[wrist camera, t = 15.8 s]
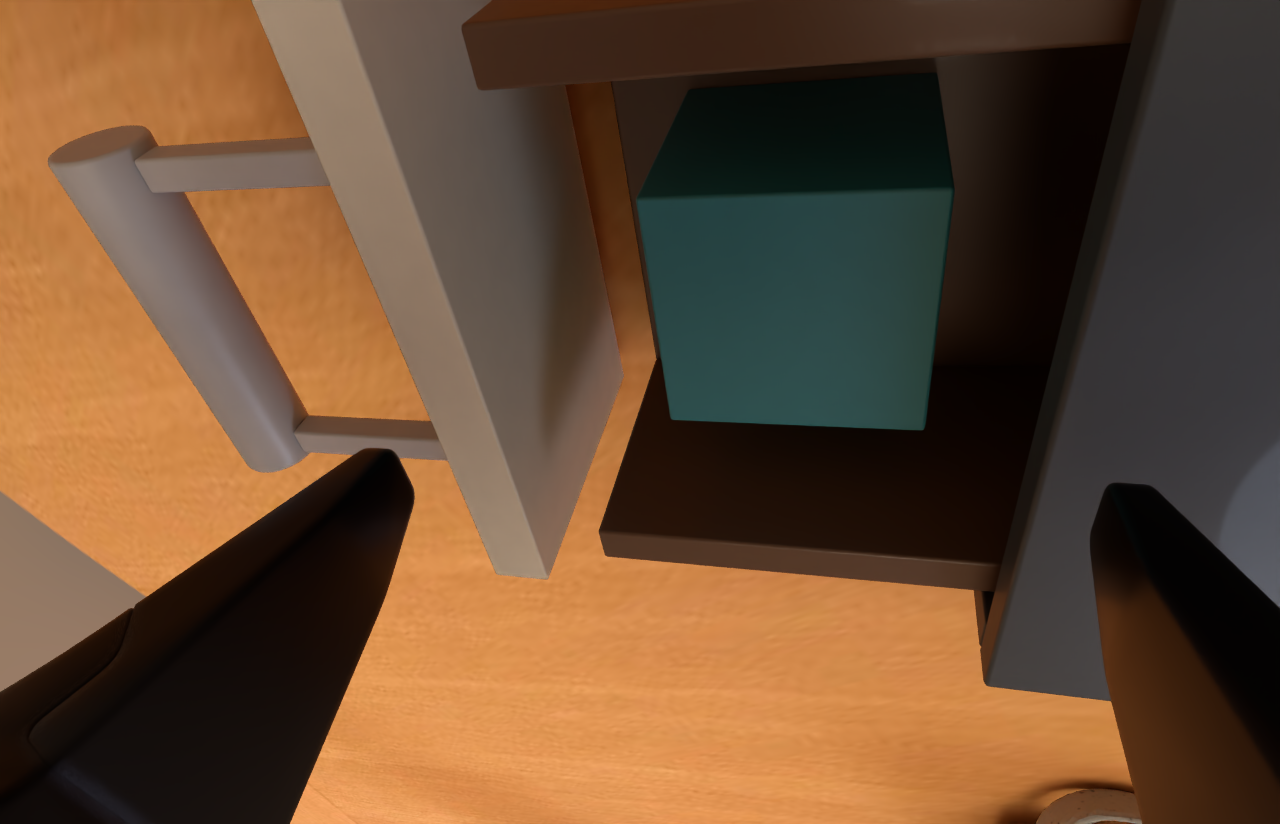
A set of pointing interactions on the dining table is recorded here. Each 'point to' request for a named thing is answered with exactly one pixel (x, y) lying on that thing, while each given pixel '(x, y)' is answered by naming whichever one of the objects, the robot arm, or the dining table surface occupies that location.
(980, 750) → the dining table surface
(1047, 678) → the cabinet
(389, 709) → the dining table surface
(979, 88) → the drawer
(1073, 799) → the ceramic mug
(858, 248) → the block
